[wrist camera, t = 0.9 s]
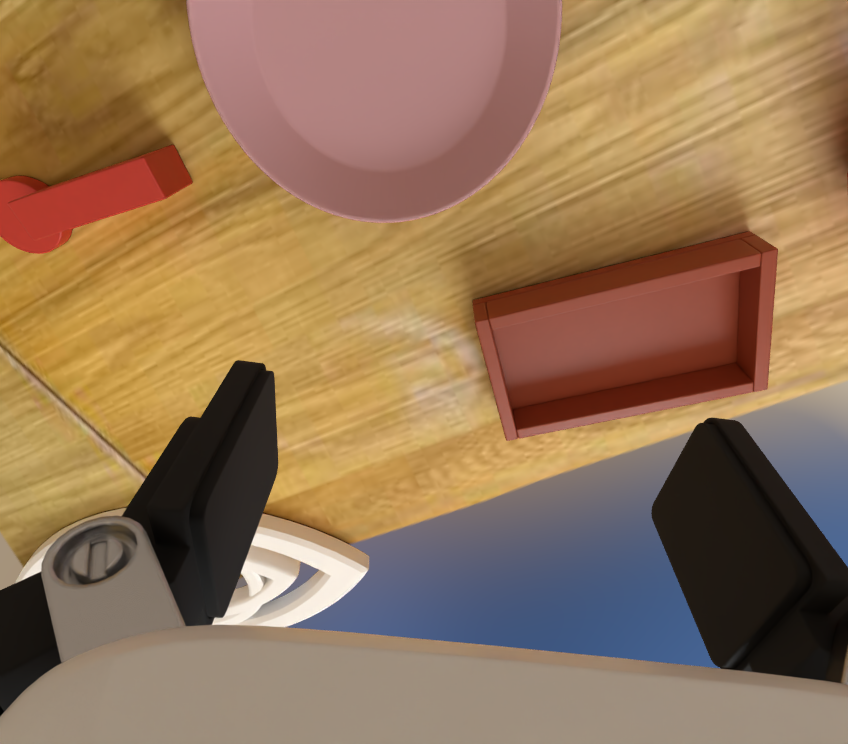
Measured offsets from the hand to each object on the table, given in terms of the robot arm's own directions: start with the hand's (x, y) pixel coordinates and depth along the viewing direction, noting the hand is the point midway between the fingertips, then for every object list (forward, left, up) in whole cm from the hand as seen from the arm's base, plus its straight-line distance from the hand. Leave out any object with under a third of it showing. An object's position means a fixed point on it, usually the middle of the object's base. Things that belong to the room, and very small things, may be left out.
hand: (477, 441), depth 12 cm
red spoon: (-6, -17, -17) cm, 25 cm away
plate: (-8, -1, -17) cm, 19 cm away
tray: (+8, +7, -17) cm, 20 cm away
